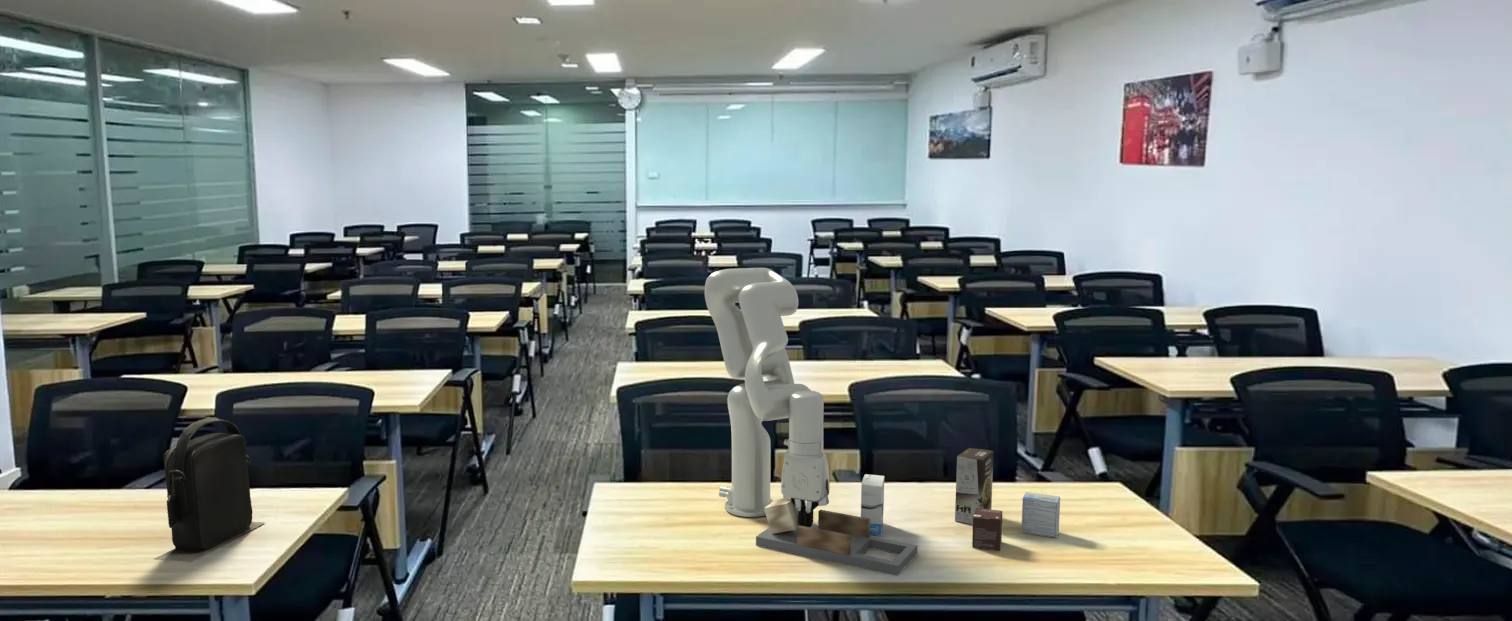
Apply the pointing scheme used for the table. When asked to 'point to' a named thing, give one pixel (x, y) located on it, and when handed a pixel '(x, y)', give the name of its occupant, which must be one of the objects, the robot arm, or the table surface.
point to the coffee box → (973, 483)
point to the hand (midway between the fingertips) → (805, 527)
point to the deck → (856, 558)
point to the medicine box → (1040, 514)
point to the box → (987, 529)
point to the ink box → (873, 501)
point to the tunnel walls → (833, 539)
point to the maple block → (781, 516)
